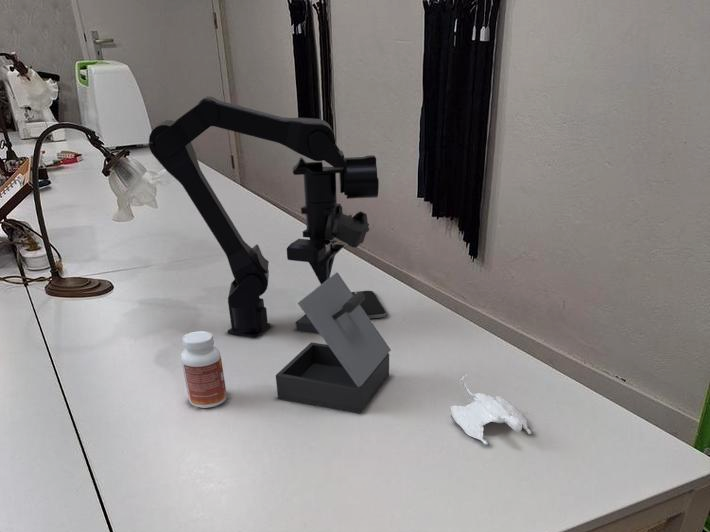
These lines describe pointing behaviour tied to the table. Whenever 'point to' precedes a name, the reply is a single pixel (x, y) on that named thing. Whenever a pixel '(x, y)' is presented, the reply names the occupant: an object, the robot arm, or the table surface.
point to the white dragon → (486, 414)
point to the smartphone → (372, 305)
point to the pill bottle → (203, 370)
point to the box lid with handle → (345, 327)
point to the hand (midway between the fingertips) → (324, 285)
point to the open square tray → (327, 381)
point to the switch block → (305, 325)
